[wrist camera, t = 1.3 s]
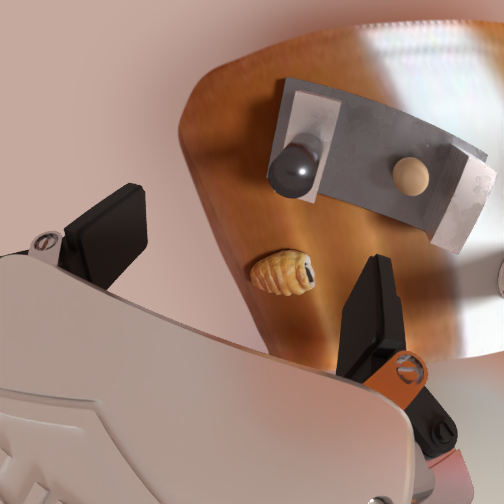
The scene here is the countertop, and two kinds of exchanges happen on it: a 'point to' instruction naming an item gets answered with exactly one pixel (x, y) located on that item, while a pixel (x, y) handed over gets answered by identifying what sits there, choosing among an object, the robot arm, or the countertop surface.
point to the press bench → (386, 157)
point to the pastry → (284, 273)
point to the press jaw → (305, 146)
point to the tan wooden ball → (410, 176)
